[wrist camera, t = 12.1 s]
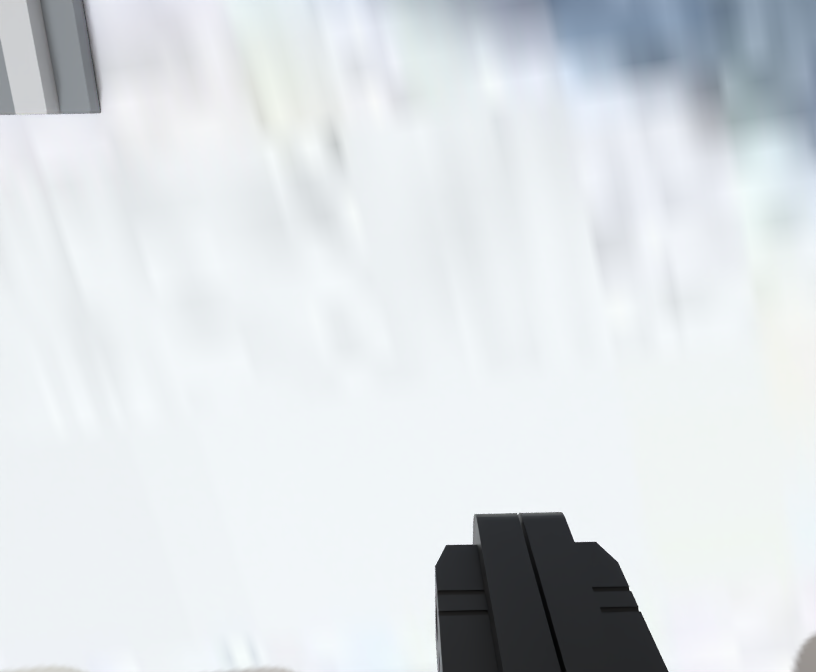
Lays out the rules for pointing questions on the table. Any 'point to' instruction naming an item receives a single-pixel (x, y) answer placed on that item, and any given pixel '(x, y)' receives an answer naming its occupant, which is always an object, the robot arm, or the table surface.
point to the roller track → (45, 59)
